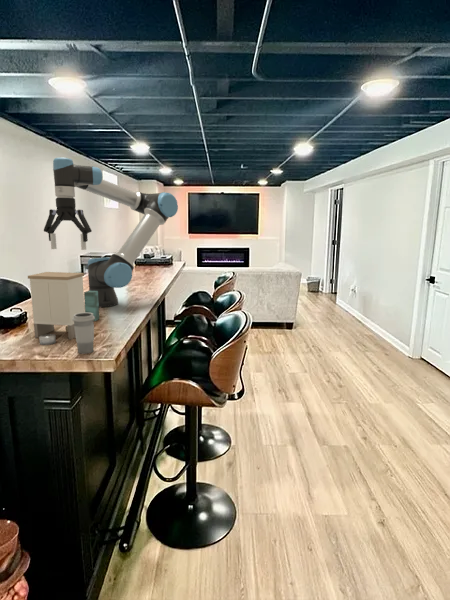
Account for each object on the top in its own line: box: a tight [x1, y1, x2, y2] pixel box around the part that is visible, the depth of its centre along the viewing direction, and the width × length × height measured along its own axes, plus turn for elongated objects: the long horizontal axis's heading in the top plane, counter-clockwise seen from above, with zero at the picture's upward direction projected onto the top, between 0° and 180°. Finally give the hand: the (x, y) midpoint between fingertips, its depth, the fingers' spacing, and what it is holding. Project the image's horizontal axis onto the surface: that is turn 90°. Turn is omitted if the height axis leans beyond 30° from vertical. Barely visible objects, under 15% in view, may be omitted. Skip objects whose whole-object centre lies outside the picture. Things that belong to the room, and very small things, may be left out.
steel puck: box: [38, 333, 57, 346], centre depth 131 cm, size 5×5×2 cm
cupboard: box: [27, 271, 85, 340], centre depth 139 cm, size 11×15×22 cm
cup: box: [72, 312, 95, 355], centre depth 122 cm, size 7×7×12 cm
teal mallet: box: [65, 290, 100, 332], centre depth 154 cm, size 20×4×12 cm, turn 172°
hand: (68, 249), depth 165 cm, fingers open, 13 cm apart
